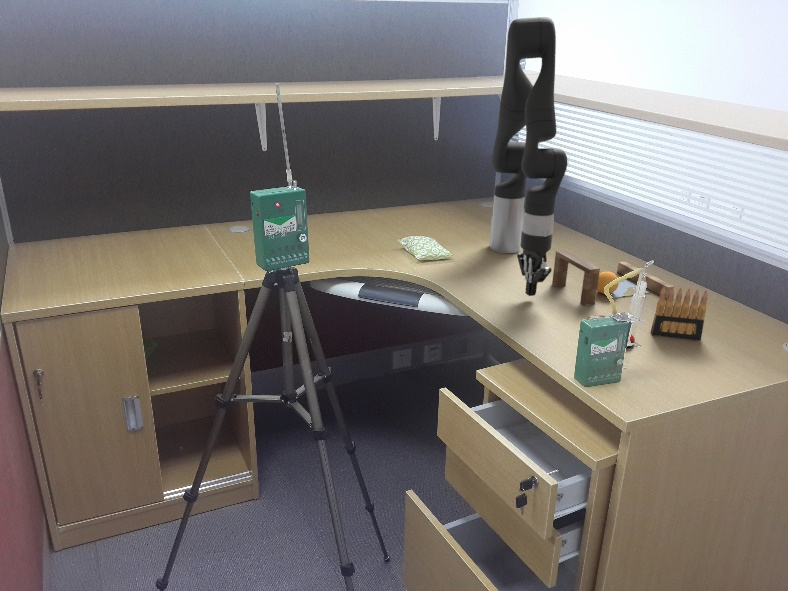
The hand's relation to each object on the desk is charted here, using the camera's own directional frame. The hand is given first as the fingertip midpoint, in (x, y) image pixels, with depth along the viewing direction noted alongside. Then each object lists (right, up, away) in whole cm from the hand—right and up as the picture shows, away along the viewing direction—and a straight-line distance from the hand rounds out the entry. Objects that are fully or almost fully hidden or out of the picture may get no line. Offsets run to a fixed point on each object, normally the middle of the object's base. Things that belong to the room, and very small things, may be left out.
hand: (530, 294), depth 170 cm
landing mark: (+25, +2, +9) cm, 27 cm away
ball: (+21, +3, +5) cm, 22 cm away
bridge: (+12, 0, +5) cm, 13 cm away
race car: (+14, -10, -18) cm, 25 cm away
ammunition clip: (+30, -10, -17) cm, 36 cm away
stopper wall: (+34, +3, +12) cm, 36 cm away
